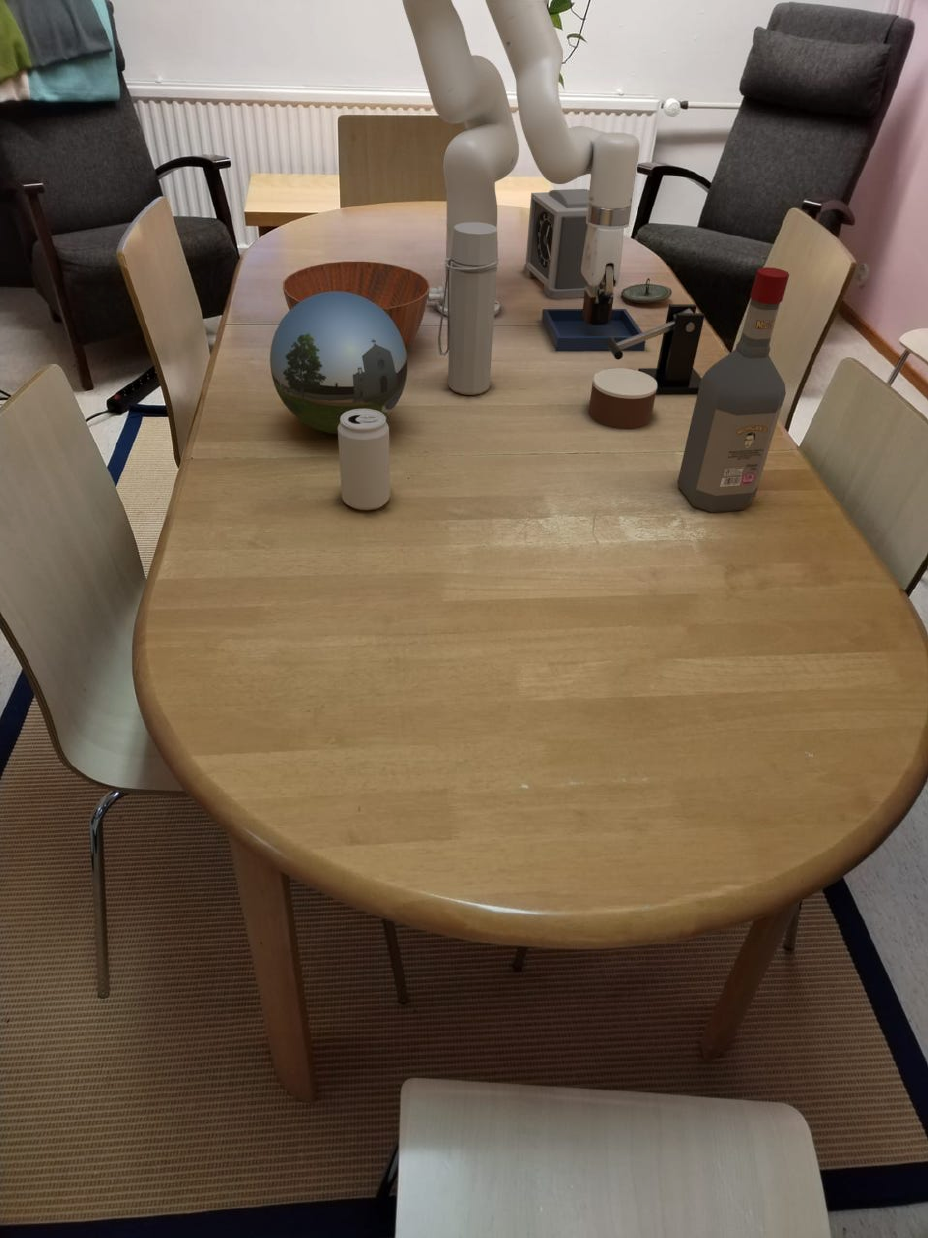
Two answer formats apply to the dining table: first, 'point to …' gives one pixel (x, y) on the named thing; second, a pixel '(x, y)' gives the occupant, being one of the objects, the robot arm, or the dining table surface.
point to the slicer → (678, 353)
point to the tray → (588, 330)
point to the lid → (646, 293)
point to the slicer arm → (640, 337)
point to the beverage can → (364, 458)
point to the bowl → (367, 289)
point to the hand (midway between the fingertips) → (595, 318)
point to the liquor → (737, 410)
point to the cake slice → (587, 304)
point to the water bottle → (470, 307)
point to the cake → (622, 398)
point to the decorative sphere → (337, 359)
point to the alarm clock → (557, 241)
